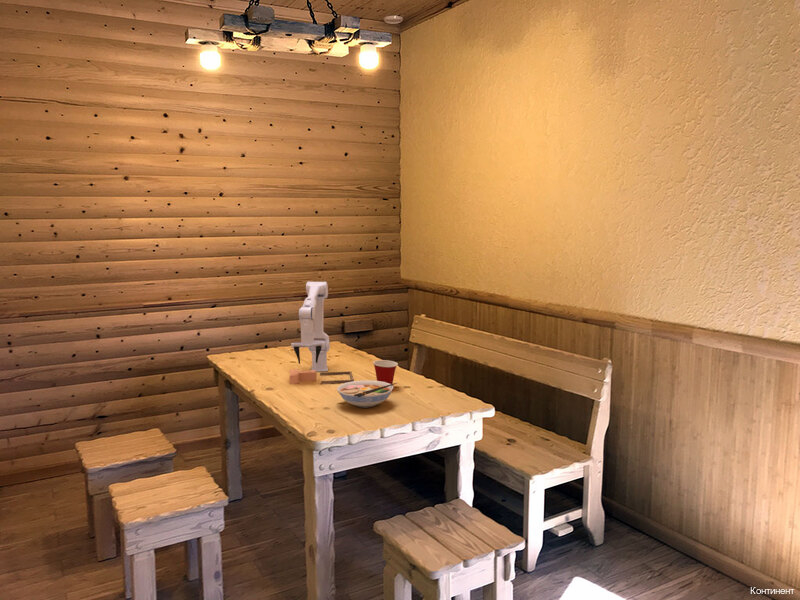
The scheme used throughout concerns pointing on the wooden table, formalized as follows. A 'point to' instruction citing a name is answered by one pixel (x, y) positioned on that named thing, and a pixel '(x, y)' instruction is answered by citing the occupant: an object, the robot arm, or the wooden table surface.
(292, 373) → the t block
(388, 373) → the plastic cup
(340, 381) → the frame
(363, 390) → the ramen bowl
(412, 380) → the wooden table surface
